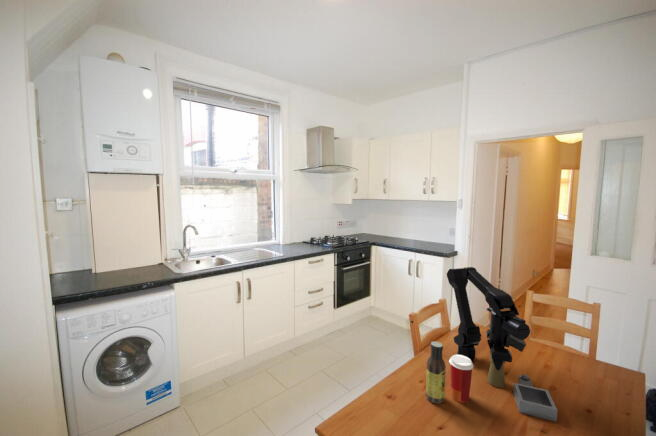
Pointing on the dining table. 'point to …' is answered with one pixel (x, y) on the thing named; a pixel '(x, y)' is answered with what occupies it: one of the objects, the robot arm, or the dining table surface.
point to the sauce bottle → (435, 374)
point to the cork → (496, 375)
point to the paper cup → (460, 377)
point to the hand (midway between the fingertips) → (496, 365)
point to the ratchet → (534, 400)
